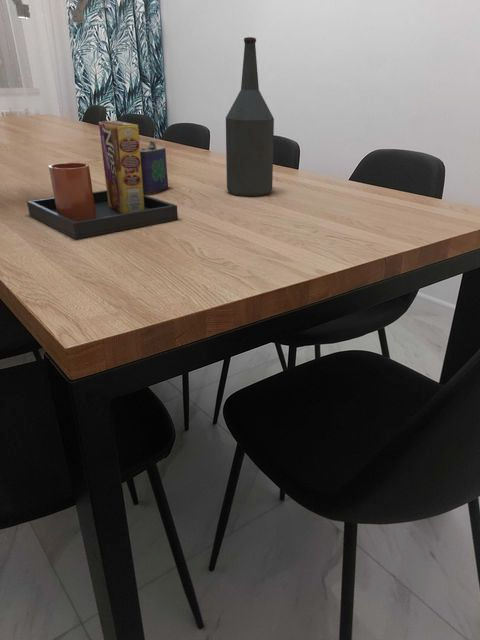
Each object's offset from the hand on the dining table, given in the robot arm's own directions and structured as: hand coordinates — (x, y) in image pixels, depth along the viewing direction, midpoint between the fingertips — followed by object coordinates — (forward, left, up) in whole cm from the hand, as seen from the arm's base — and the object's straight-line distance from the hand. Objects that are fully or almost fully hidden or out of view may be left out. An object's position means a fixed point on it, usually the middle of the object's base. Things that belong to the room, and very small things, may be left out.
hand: (52, 20), depth 86 cm
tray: (-1, -12, -31) cm, 33 cm away
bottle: (+35, -12, -31) cm, 48 cm away
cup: (-6, -12, -31) cm, 34 cm away
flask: (+19, +2, -31) cm, 37 cm away
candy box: (+4, -12, -31) cm, 33 cm away
